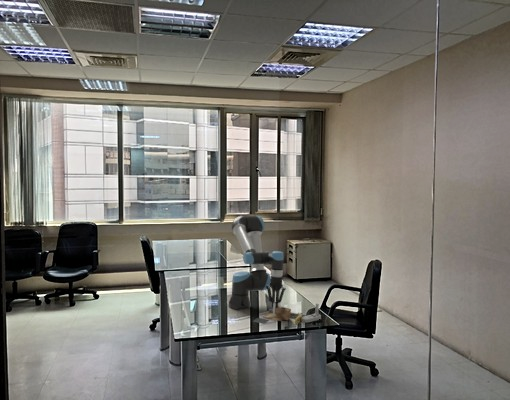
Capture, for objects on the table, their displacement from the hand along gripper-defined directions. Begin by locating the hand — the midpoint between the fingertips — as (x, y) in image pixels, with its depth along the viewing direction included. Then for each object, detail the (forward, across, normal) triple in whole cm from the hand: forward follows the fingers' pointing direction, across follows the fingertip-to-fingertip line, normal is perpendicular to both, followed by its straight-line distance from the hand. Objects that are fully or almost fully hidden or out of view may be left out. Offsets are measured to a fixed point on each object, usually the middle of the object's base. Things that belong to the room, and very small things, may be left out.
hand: (274, 312), depth 256 cm
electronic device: (+4, +21, +10) cm, 24 cm away
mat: (+4, -5, -10) cm, 12 cm away
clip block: (+2, +6, 0) cm, 6 cm away
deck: (+4, +4, +2) cm, 6 cm away
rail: (+4, +5, +2) cm, 6 cm away
